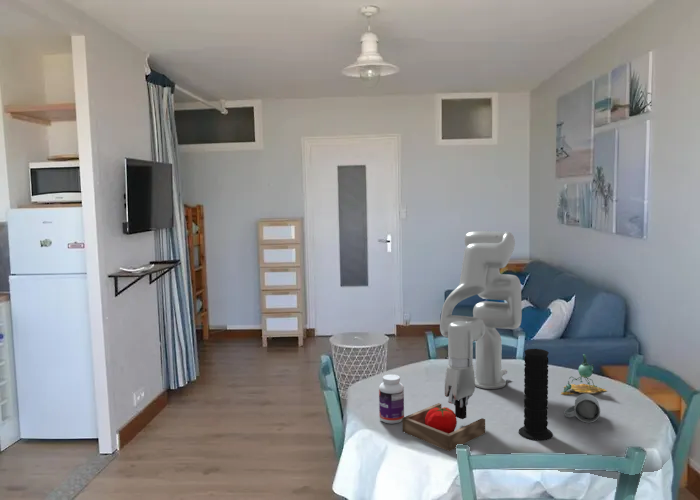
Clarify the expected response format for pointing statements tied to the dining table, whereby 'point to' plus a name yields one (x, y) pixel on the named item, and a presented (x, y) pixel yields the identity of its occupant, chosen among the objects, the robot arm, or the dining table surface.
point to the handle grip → (536, 396)
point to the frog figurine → (585, 372)
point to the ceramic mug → (584, 408)
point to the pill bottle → (391, 399)
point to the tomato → (441, 419)
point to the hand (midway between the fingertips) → (460, 417)
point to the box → (446, 441)
